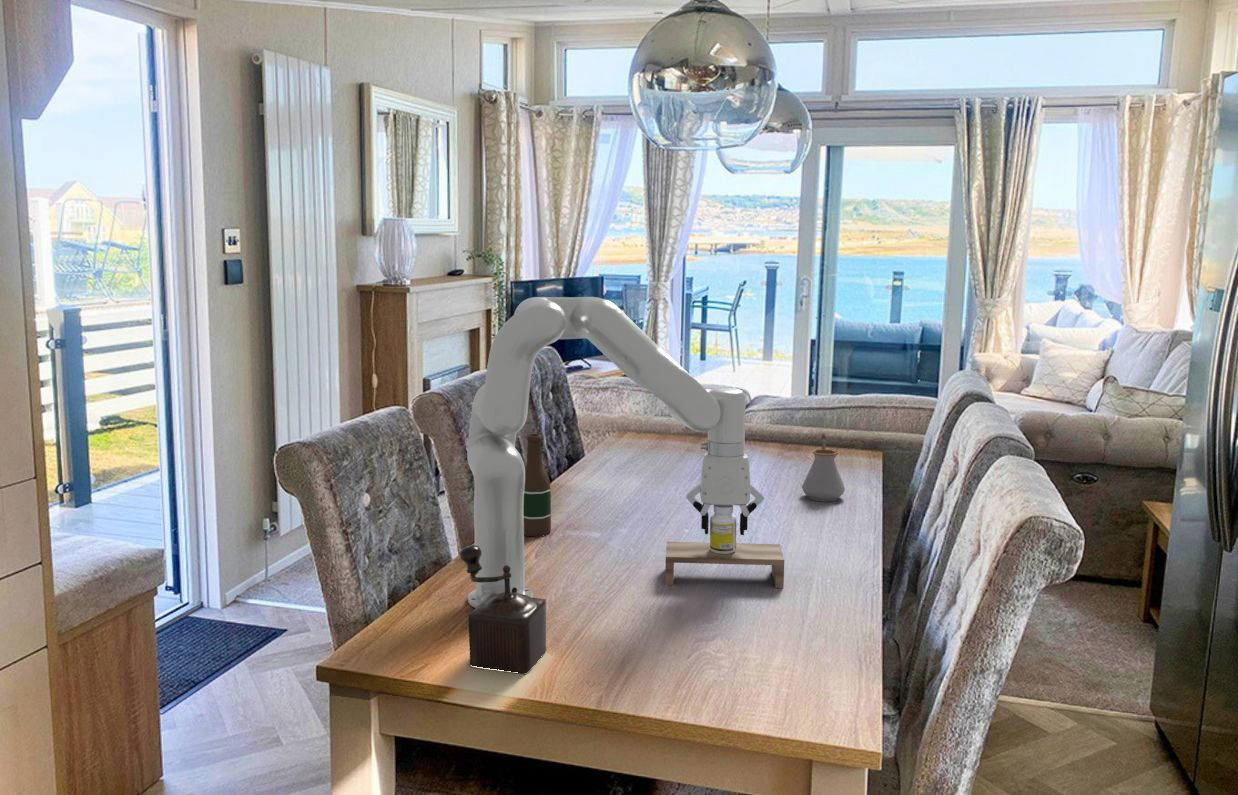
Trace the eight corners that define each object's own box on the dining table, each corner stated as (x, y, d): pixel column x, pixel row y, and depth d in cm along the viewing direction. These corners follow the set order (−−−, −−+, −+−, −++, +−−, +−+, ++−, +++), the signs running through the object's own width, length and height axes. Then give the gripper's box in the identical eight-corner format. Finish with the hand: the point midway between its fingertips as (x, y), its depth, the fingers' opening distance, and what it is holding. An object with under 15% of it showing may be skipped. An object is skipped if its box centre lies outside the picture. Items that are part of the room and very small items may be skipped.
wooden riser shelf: (783, 588, 198) (784, 559, 197) (665, 584, 200) (665, 556, 199) (779, 571, 208) (779, 544, 207) (666, 568, 209) (666, 541, 208)
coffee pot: (845, 504, 259) (847, 449, 257) (801, 502, 261) (803, 447, 259) (842, 484, 280) (844, 433, 277) (801, 482, 282) (803, 431, 279)
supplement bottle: (719, 544, 206) (720, 499, 205) (740, 550, 203) (742, 504, 201) (704, 551, 202) (705, 505, 201) (726, 556, 199) (727, 510, 197)
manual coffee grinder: (550, 648, 169) (548, 548, 166) (526, 675, 159) (525, 570, 156) (467, 637, 174) (465, 540, 171) (440, 664, 163) (436, 561, 160)
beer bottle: (546, 538, 230) (545, 438, 226) (514, 536, 231) (513, 437, 227) (555, 528, 237) (554, 432, 233) (524, 526, 239) (523, 430, 235)
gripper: (683, 452, 196) (682, 537, 199) (770, 453, 195) (767, 539, 198) (683, 444, 203) (682, 526, 206) (767, 445, 202) (764, 528, 205)
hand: (724, 532), depth 202 cm, fingers open, 6 cm apart
